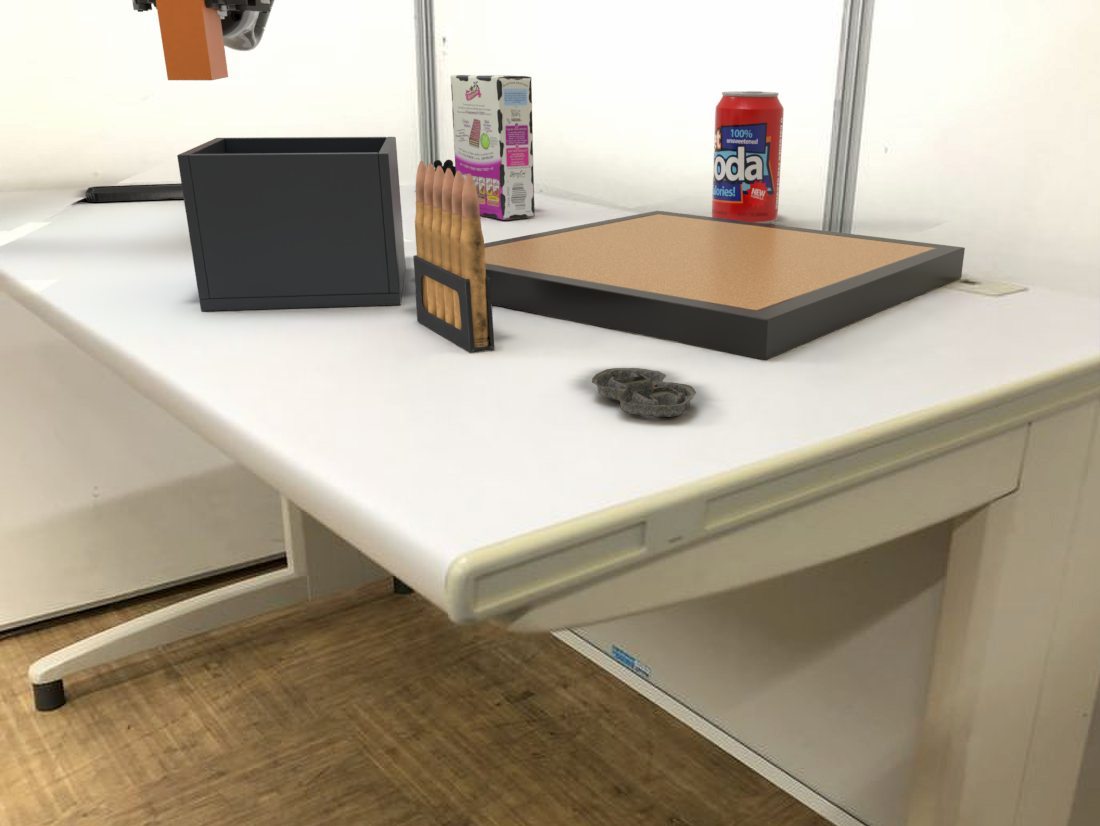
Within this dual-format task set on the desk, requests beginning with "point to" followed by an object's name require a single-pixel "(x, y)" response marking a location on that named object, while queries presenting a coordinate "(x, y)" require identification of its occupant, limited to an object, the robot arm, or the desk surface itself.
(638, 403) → the corroded twin loop
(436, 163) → the wireless earbuds
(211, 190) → the trash can
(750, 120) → the soda can
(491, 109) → the candy bar box
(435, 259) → the ammunition clip
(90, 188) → the phone
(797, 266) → the cork board
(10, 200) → the desk surface
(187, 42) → the block
